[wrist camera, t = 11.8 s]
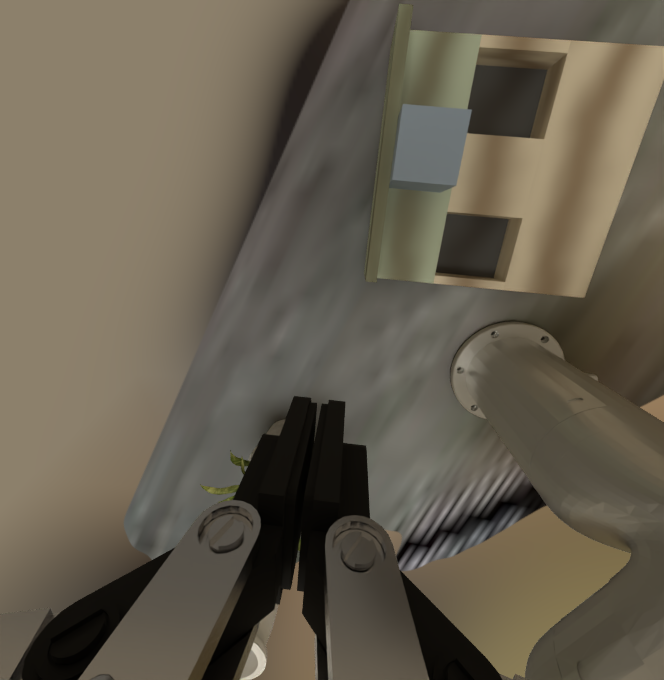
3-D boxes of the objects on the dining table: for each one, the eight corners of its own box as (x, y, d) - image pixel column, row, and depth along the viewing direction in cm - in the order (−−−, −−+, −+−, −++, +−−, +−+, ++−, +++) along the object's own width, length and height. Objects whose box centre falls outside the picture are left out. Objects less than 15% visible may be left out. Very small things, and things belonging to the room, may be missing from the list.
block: (451, 130, 27) (471, 109, 23) (440, 192, 29) (456, 185, 24) (394, 125, 28) (402, 103, 23) (386, 187, 29) (392, 179, 25)
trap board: (642, 65, 27) (717, 23, 22) (565, 292, 34) (606, 304, 28) (390, 49, 28) (399, 3, 23) (364, 272, 35) (365, 281, 29)
